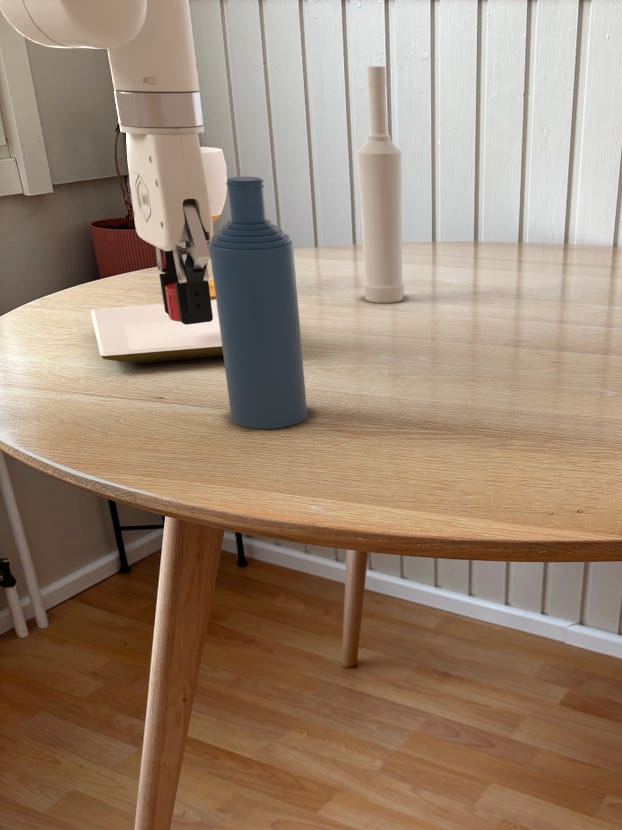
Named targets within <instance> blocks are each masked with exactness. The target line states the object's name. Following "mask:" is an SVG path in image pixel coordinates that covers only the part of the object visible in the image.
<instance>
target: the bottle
mask: <svg viewBox="0 0 622 830" xmlns="http://www.w3.org/2000/svg"><path fill="white" fill-rule="evenodd" d="M366 72H367V73H366V74H367V75H366V76H367V87H368V109H369V110H368V111H369V112H368V113H369V114H368V116H369V133H368V134H367V135H366V140H365V142H364V143H363V144H362V145H361V146H360V148H358V149H357V151H356V157H357V158H356V159H357V175H358V176H357V177H358V190H359V204H360V205H359V206H360V220H361V223H360V224H361V236H362V238H361V239H362V252H363V268H364V270H363V271H364V281H363V284H362V289H363V296H364V298H365V300H366V301H368V302H371V303H377V304H390V303H392V304H393V303H397V302H400V301H402V300H404V295H405V282H404V281H403V216H402V215H403V204H402V203H403V200H402V199H403V197H402V196H403V195H402V194H403V193H402V189H403V188H402V185H403V184H402V183H403V182H402V181H403V180H402V177H403V175H402V150H400V149H399V148H398V147H397V145H395V143H394V142H393V141H392V140H391V135H390V134H389V133H388V123H387V122H388V119H387V116H388V115H387V91H386V87H387V72H386V66H382V65H381V66H380V65H378V66H377V65H367V66H366Z"/></svg>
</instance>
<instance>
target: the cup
mask: <svg viewBox="0 0 622 830" xmlns="http://www.w3.org/2000/svg"><path fill="white" fill-rule="evenodd" d="M200 147H201V152H202V157H203V163H204V168H205V174H206V180H207V186H208V192H209V199H210V206H211V214H212V223H213V224H215V222H216V221H217V220H218V218H219V217H220V216H221V215H222V213H223V210H224V206H225V203H226V199H227V192H228V186H227V185H226V183H227V179H228V172H227V171H228V170H227V163H226V159H225V155H224V150H223V149H222V148H218V147H209V146H200ZM208 283H209V291H210V299H216V295H215V287H214V280H208Z"/></svg>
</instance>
